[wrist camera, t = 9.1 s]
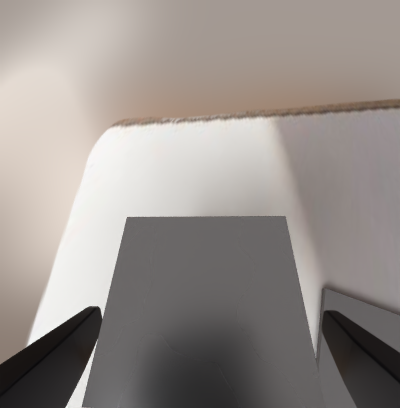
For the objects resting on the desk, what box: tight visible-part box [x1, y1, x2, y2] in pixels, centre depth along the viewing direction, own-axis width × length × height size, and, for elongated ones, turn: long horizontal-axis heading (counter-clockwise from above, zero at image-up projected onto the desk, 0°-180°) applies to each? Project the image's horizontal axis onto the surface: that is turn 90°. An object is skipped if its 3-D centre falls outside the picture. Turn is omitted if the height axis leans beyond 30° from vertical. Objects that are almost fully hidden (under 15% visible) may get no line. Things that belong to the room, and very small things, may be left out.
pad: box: [316, 288, 400, 408], centre depth 14 cm, size 8×8×1 cm
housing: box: [82, 216, 326, 408], centre depth 10 cm, size 5×5×10 cm
